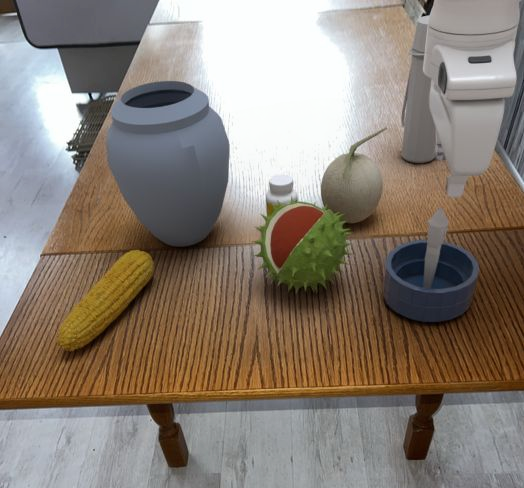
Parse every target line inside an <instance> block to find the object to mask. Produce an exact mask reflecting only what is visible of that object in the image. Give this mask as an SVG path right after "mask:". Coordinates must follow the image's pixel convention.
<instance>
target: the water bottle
mask: <svg viewBox="0 0 524 488" xmlns="http://www.w3.org/2000/svg"><path fill="white" fill-rule="evenodd" d="M428 20H429V15H425V16H424V15H423V16H421V17H419V18H417V21H416V26H415V30H414V36H413V42H412V46H411V48H409V49H408V50H407V54H408V55H410V56H411V60H410V67H409V73H408V77H407V84H406V88H405V93H404V94H405V95H404V99H403V104H402V109H401V117H400V122H401V127H402V128H403V135H402V145H401V157H402V158H403V159H404V160H405V161H406V162H408V163H412V164H425V163H429V162H431V161H433V160H434V159H435V158H436V156H435V147H436V127H435V123H434V120H433V117H432V114H431V111H430V108H429V94H430V88H431V81H432V79H431V78H429V77H427V76H426V75H425V74H424V72H423V62H424V54H425V44H426V35H427V27H428Z"/></svg>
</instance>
